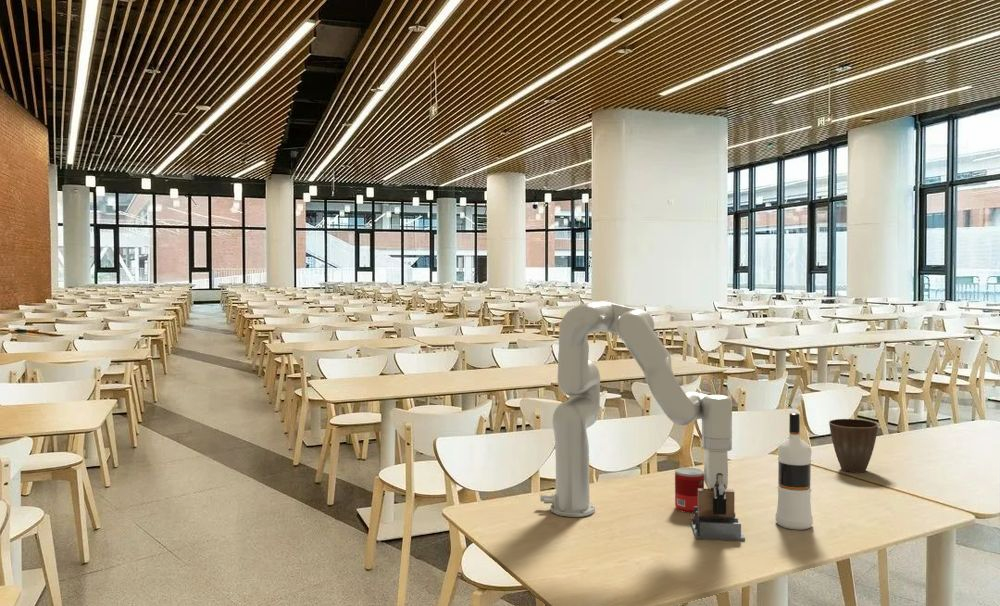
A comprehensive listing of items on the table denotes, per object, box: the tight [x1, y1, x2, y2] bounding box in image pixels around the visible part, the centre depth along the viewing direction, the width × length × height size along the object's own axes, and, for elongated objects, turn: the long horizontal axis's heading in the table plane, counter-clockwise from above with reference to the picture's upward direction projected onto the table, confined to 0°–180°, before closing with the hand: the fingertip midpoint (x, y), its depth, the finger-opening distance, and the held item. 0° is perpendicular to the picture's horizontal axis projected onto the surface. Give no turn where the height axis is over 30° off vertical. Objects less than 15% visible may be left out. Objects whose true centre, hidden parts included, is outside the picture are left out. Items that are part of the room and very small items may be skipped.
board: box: [698, 488, 735, 517], centre depth 198 cm, size 9×2×10 cm, turn 82°
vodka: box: [775, 412, 814, 531], centre depth 201 cm, size 9×9×30 cm
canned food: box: [674, 467, 705, 514], centre depth 216 cm, size 8×8×11 cm
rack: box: [689, 506, 746, 542], centre depth 198 cm, size 12×13×4 cm
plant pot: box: [828, 418, 879, 473], centre depth 255 cm, size 15×15×16 cm
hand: (716, 508), depth 197 cm, fingers open, 9 cm apart
